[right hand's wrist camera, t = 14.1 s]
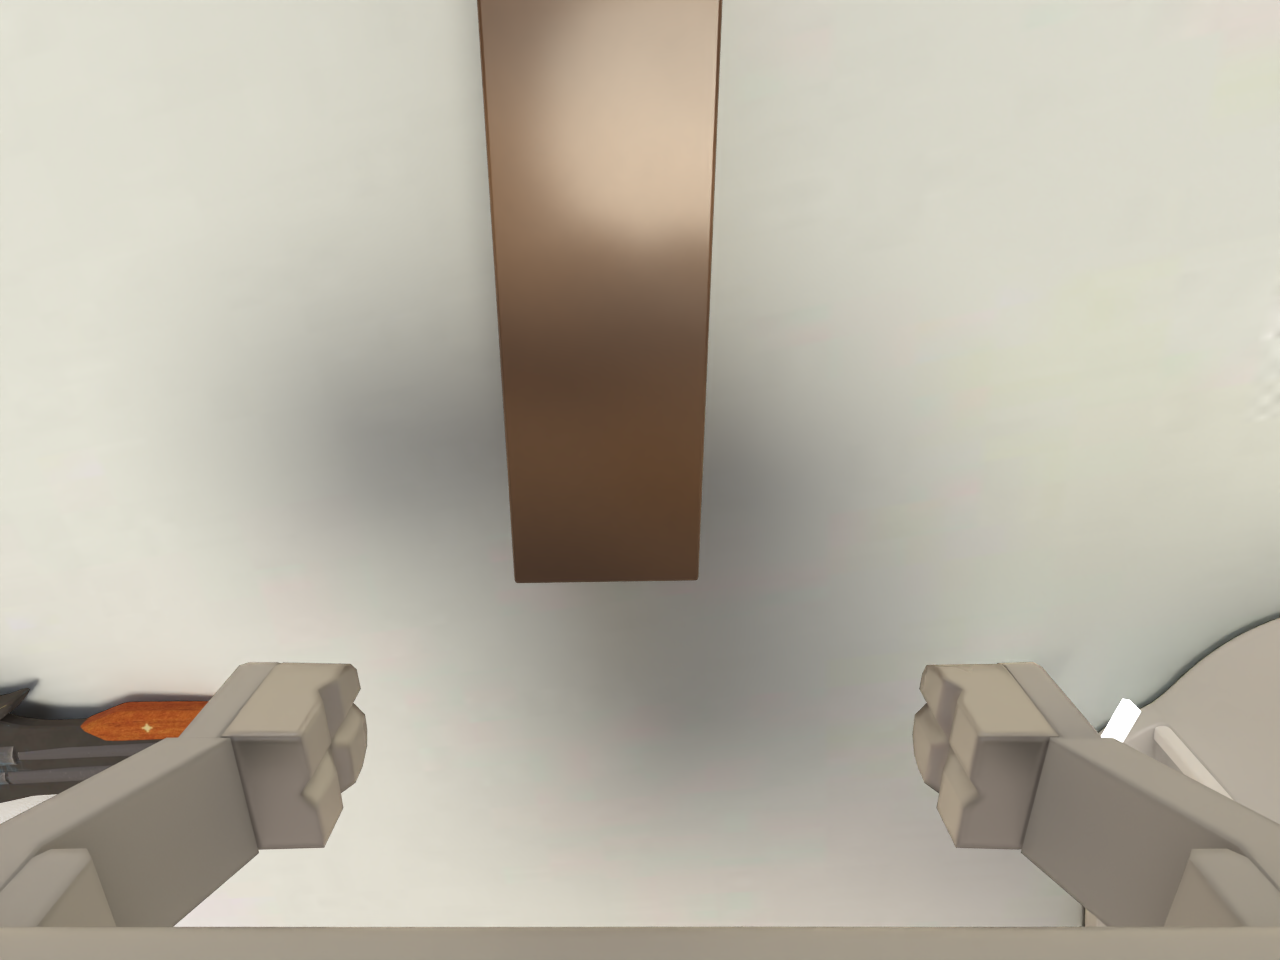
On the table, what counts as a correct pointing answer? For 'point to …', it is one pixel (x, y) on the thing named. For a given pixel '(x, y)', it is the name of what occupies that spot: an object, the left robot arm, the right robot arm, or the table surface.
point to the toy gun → (79, 743)
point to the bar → (602, 276)
